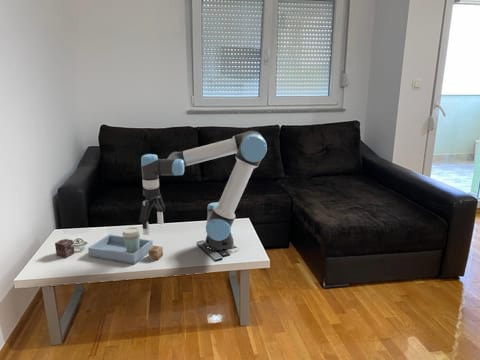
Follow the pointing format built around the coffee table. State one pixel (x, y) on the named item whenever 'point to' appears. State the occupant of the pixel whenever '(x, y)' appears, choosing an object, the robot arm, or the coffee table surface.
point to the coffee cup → (131, 239)
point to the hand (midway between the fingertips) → (153, 229)
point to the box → (64, 248)
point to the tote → (118, 249)
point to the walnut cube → (155, 252)
